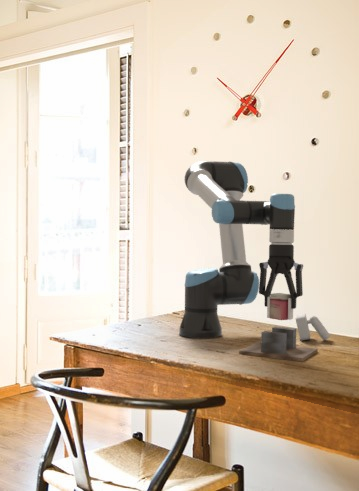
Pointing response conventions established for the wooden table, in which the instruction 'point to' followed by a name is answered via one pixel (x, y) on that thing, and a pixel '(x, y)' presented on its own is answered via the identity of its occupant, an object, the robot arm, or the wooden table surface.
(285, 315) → the small box
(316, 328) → the wall hook
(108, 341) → the wooden table surface
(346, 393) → the wooden table surface
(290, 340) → the slotted post block
